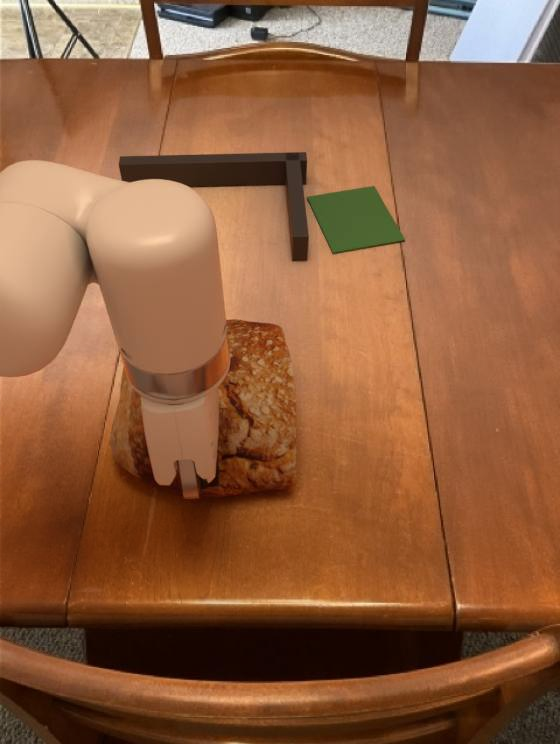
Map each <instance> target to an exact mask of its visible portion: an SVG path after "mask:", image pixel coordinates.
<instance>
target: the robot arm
mask: <svg viewBox="0 0 560 744" xmlns="http://www.w3.org/2000/svg"><path fill="white" fill-rule="evenodd" d="M91 284H96V285H98V286H99V289H100V292H101V295H102V299H103V303H104V306H105V309H106V312H107V315H108V319H109V322H110V325H111V329H112V331H113V335H114V338H115V339H114V340H115V342H116V345H117V349H118V351H119V356H120V359H121V362H122V365H123V367H124V369H125V372H126V375H127V378H128V381H129V383H130V385H131V386H132V387H133V388H134V390H135V391H136V392H138V393H139V394H140V395H141V406H142V417H143V425H144V431H145V437H146V442H147V447H148V452H149V457H150V461H151V466H152V470H153V474H154V478H155V480H156V482H157V483H158V484H159V485H170V484H171V483H172V481H173V479H174V478H175V476H176V469H179V471H180V477H181V484H182V490H183V495H182V497H183V499H184V500H194V499H200V497H199V496H200V490H204V489H207V488H208V487H216V486H218V485H219V476H218V475H219V465H218V459H217V446H218V427H219V390H218V386H219V385H220V384H221V383H222V382H223V380H224V379H225V377H226V375H227V373H228V370H229V367H230V351H229V341H228V332H227V323H226V320H227V315H226V306H225V305H226V304H225V296H224V287H223V276H222V268H221V259H220V250H219V240H218V229H217V224H216V220H215V216H214V213H213V211H212V208H211V206H210V205H209V204H208V202H207V201H206V199H205V198H204V197H203V196H202V195H201V194H199V193H198V191H197V190H195V189H194V188H193V187H188V186H186V185H184V184H181V183H178V182H174V181H170V180H162V179H147V180H140V181H135V182H125V181H122V179H121V180H120V179H116V178H113V177H108V176H105V175H101V174H98V173H95V172H91V171H87V170H83V169H80V168H77V167H74V166H70V165H66V164H63V163H59V162H55V161H54V162H53V161H49V160H42V159H27V160H21V161H18V162H17V161H16V162H14V163H12V164H10V165H8V166H6V167H5V168H4V169H3V170H1V172H0V377H2V378H20V377H26V376H27V377H28V376H29V375H30V376H31V375H32V374H35V373H38V372H41V371H42V370H44V368H47V366H49V365H51V364H52V362H54V360H55V359H56V358H57V357H58V355H59V354H60V352H61V351H62V350H63V348H64V346H65V345H66V342H67V340H68V338H69V336H70V333H71V331H72V328H73V326H74V324H75V321H76V318H77V316H78V313H79V310H80V307H81V305H82V302H83V300H84V298H85V295H86V291H87V289H88V286H89V285H91Z"/></svg>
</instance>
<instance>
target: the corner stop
mask: <svg viewBox="0 0 560 744" xmlns="http://www.w3.org/2000/svg"><path fill="white" fill-rule="evenodd" d="M118 169H119V173H120V174H119V175H120V179H121V181H125V182H135V181H140V180H147V179H162V180H170V181H174V182H178V183H181V184H184V185H186V186H188V187H190V188H210V187H212V188H213V187H249V186H251V187H252V186H253V187H254V186H285V195H286V209H287V218H288V220H287V221H288V228H289V229H288V230H289V232H288V233H289V240H290V241H289V243H290V252H291V254H290V255H291V261H292V262H295V261H296V262H297V261H299V262H300V261H308V260H309V259H308V258H309V239H310V236H309V235H310V234H309V226H308V218H307V210H306V209H307V207H306V200H305V192H304V185H307V175H308V174H307V172H308V155H307V151H298V152H296V151H295V152H294V151H292V152H291V151H289V152H288V151H287V152H253V153H251V152H249V153H247V152H246V153H211V154H210V153H209V154H208V153H207V154H205V153H203V154H163V155H123V156H122V155H121V156H119V159H118Z"/></svg>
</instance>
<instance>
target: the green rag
mask: <svg viewBox="0 0 560 744" xmlns="http://www.w3.org/2000/svg"><path fill="white" fill-rule="evenodd" d="M306 199H307V202H308V204H309V206H310V208H311V211H312V212H313V214H314V217H315V218H316V221H317V223H318V225H319V227H320V229H321V232H322V233H323V236H324V239H325V240H326V243H327V244H328V247H329V249H330V251H331V254H332V255H335V254H341V253H346V252H347V253H348V252H352V251H358V250H359V251H360V250H364V249H369V248H375V247H380V246H386V245H391V244H393V245H394V244H397V243H403V242H406V239H405V237H404V235H403V233H402V232H401V230H400V228H399V226H398V225H397V222H395V219H394V218H393V216H392V214H391V212H390V211H389V208H388V207H387V206H386V204H385V202H384V200H383V198H382V197H381V195H380V193H379V191H378V190H377V187H376V185H369V186H364V187H359V188H358V187H357V188H352V189H345V190H340V191H333V192H327V193H321V194H313V195H309V196H306Z"/></svg>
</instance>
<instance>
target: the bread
mask: <svg viewBox="0 0 560 744" xmlns="http://www.w3.org/2000/svg"><path fill="white" fill-rule="evenodd" d="M226 323H227V332H228V341H229V351H230V367H229V370H228V373H227V375H226V377H225V379H224V380H223V382H222V383H221V384H220V385H219V386H218V390H219V427H218V446H217V459H218V465H219V475H218V476H219V485H218V486H216V487H208V488H207V489H204V490H200V496H199V498H222V497H229V496H237V495H239V496H240V495H244V494H245V495H247V494H251V493H257V492H261V491H274V490H287V489H290V488H293V487H294V486H296V485H297V484H298V483H297V482H298V481H297V480H298V479H297V462H298V452H297V451H298V450H297V446H296V444H297V440H298V429H297V394H296V385H295V384H296V383H295V382H296V381H295V375H294V369H293V368H294V367H293V363H292V357H291V353H290V349H289V348H288V345H287V341H286V336H285V332H284V330H283V328H282V327H281V325H278V324H275V323H271V322H258V321H252V320H251V321H249V320H245V319H244V320H243V319H236V318H235V319H226ZM119 391H120V392H119V400H118V403H117V406H116V410H115V414H114V418H113V421H112V424H111V429H110V430H111V431H110V437H109V445H110V449H111V453H112V456H113V459H114V463H115V464H116V465H118V466H119V467H121V468H122V469H124V470H125V471H126V472H128V473H129V474H131V475H132V476H134V477H136V478H137V479H139V480H140V481H142V482H143V483H145V484H146V485H148V486H150V487H151V488H153V489H156V490H160V491H164V492H166V493H170V494H173V495H179V496H183V490H182V484H181V477H180V471H179V469H176V476H175V478H174V479H173V481H172V483H171V484H170V485H159V484H158V483H157V482H156V480H155V478H154V474H153V470H152V466H151V461H150V457H149V452H148V447H147V442H146V437H145V431H144V425H143V417H142V406H141V395H140V394H139V393H138V392H136V391H135V390H134V388H133V387H132V386H131V385H130V383H129V381H128V378H127V375H126V372H125V369H124V366H123V368H122V375H121V381H120V389H119Z"/></svg>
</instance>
